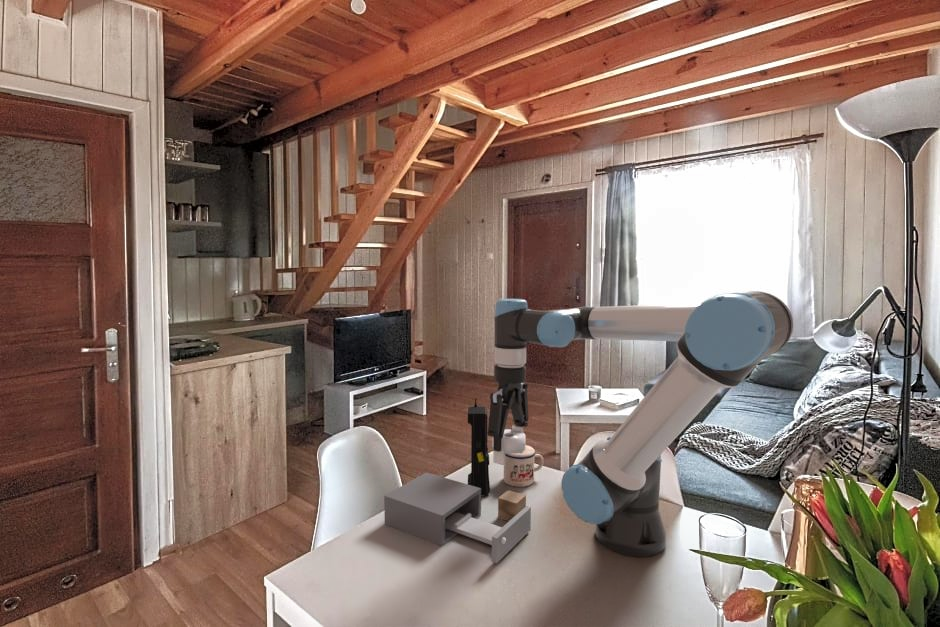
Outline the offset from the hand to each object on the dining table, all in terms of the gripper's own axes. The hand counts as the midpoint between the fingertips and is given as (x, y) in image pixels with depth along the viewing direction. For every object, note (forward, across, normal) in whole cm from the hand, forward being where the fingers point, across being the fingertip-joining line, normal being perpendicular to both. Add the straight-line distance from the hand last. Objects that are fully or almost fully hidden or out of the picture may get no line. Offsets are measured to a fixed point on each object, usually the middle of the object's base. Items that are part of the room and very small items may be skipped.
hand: (508, 457), depth 121 cm
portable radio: (+16, -8, -14) cm, 22 cm away
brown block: (+15, -2, 0) cm, 15 cm away
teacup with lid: (+16, -21, -7) cm, 27 cm away
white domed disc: (-3, 0, 0) cm, 3 cm away
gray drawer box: (+15, +11, -14) cm, 24 cm away
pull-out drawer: (+15, +11, -1) cm, 18 cm away
